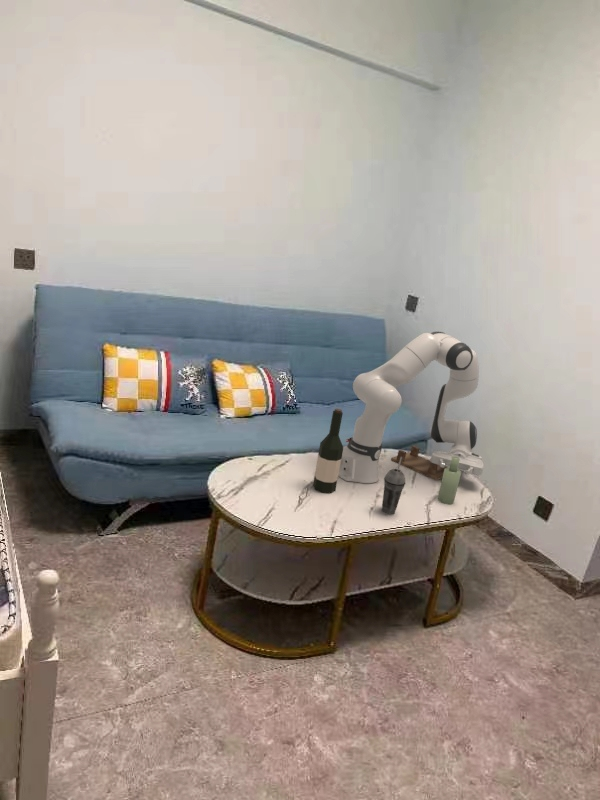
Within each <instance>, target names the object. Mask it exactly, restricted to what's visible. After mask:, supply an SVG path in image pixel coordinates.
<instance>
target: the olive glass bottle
mask: <svg viewBox="0 0 600 800" xmlns="http://www.w3.org/2000/svg"><path fill="white" fill-rule="evenodd" d="M459 460H460V459H459V458H458V457H452V459H451V463H450V467H447V468H445V469H444V473H443V478H441V483H440V487H439V491H438V494H437V501H438V502H440V503H442V504H444V505H445V504H446V505H453V504H454V503H455V501H456V500H455V499H456V497H457V496H456V495H457V491H458V488H459V483H460V479H461V475H462V471H460V470H457V468H458V464H459Z"/></svg>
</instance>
